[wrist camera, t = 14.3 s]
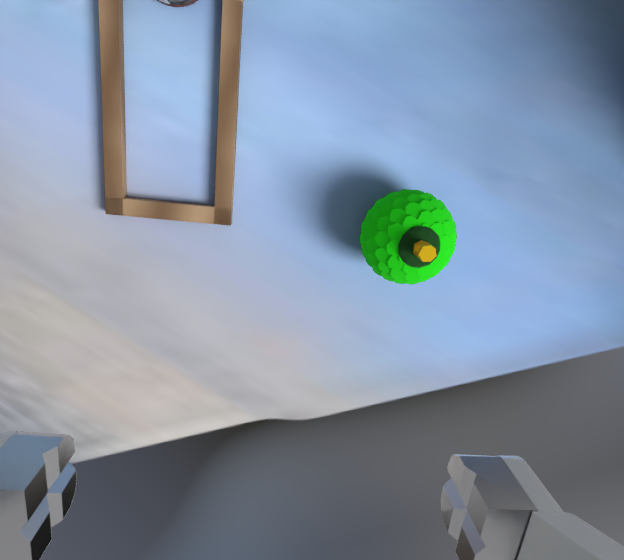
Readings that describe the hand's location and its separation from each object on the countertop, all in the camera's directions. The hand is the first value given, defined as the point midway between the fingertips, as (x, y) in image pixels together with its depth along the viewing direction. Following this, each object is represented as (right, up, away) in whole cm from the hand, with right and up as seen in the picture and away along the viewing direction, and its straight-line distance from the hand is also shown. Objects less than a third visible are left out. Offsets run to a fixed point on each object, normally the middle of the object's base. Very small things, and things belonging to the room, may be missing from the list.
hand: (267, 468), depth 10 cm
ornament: (+9, +9, +33) cm, 35 cm away
